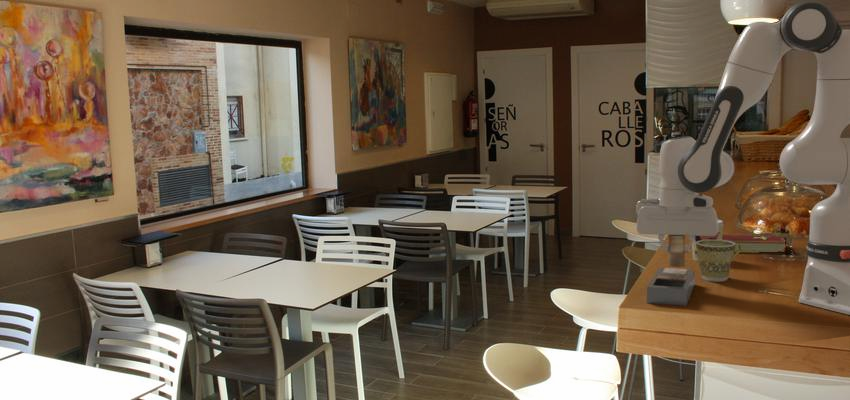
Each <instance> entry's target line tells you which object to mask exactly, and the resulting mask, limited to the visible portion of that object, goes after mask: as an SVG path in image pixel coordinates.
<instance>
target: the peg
mask: <svg viewBox="0 0 850 400" xmlns="http://www.w3.org/2000/svg"><path fill="white" fill-rule="evenodd" d="M668 244H669V252H668V266H669V267H671V268H672V267H673V268H674V267H675V268H684V267H686V261H685V260H686V258H685V257H686V255H685V254H686V253H685V252H684V250H685V249H684V246H685V245H686V235H668Z"/></svg>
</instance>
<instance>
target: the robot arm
mask: <svg viewBox="0 0 850 400" xmlns="http://www.w3.org/2000/svg"><path fill="white" fill-rule="evenodd" d="M789 51H802V52H803V51H804V52H805V51H808V52H812V53H813V54H814V56H815V57H816V61H817V74H816V88H815V90H816V91H815V97H814V105H813V110H812V111H813V112H812V114H811V117H810V120H809V121H808V123H807V125H806V126H805V128H804V129H803V130H802V132H801V133H800V134H799V135H798V136H796V137H795V138H794V139H793V140H791V141H790V142H788V143H787V144H786V145H785V146H784V148H783V149H782V151H781V153H780V157H779V163H778V164H779V168H780V171H781V173H782V175H783V177H784V178H785V179H786V180H787V181H788V182H791V183H797V184H803V185H808V186H809V185H810V186H811V185H812V186H813V185H815V186H817V185H821V186H822V185H836V188H835V190H834V192H833V193H832V194H831V195H830V196H829V197H827V198H825V199H823V200H821V201H819V202H817V203H816V204H815V205H814V206H813V207H812V209H811V211H810V215H809V235H808V236H809V237H808V238H809V239H808V240H807V243H806V247H805V248H806V255H807V256H808V257H807V262H806V266H805V270H804V274H803V281H802V287H801V289H800V290H801V292H800V294H799V298H798V302H799V303H802V304H805V305H809V306H813V307H816V308H819V309H820V308H821V309H823V310H824V309H825V310H828V311H832V312H837V313H840V314H845V315H849V316H850V137H841V135H842V132H843V131H844V130H845V128H847V126H848V125H850V29H843V28H842V26H841V24H840V23H839V21H838V20H837V18H836V17H835V15H834V12H833V11H832V10H831V8H829V6H828V5H826V4H824V3H823V2H819V1H816V0H806V1H802V2H798V3H797V4H795V5H793V6H792V7H790V8H789V9H788V10H787V12H785V14H784V16H782V18H780V19H779V20H778V21H777V22H768V21H756V22H750V23H749V24H748V25H746V27H744V29H743V30H742V32H741V33H740V35H739V37H738V39H737V41H736V42H735V44H734V46H733V48H732V50H731V52H730V55H729V58H728V60H727V62H726V65H725V68H724V70H723V74H722V77H721V79H720V84H719V86H718V89H717V91H716V95H715V96H714V101H713V104H711V107H710V110H709V112H708V114H707V116H706V119H705V120H704V123H703V125H702V128H701V130H700V133H699V135H698V137H697V139H696V140H695V139H694V138H693V137H692V136H689V135H687V136H686V135H683V136H677V137H673V138H669V139H666V140H664V141H663V143H661V145H660V146H661V147H660V151H659V162H658V173H659V176H660V182H659V187H658V198H651V199H650V198H649V199H647V198H642V199H641V200H639V201H637V202H636V205H635V213H636V215H637V219H636V232H637V233H638V234H639V235H657V236H658V241H659V242H660V244H661V245H662V252H664V253H669V243H666V242H665V240H664V239H665V237H666V236H667V235H668V236H669V235H685V236H688V239H689V240H690V241H689V242H688V244H685V246H684V249H685V250H684V252H685V254H687V253H688V254H689V253H690V254H691V252H692V251H691V250H692V243H693V242H694V240H695V236H715V235H716V234H717V233H718V220H719V219H718V215H717V211H716V209H715V208H714V207H713V205H714V199H713V198H712V196H709V195H708V196H707V195H705V194H702V193H706V192H708V191H710V190H713V189H714V188H718V187H720V186H723V185H724V184H726V183H729V181H731V179H732V178H733V177H734V174H735V169H736V167H735V161H734V160H733V157H732V156H731V155H730V154H729V153H727V152H726V151H724V148H725V146H726V143H727V142H728V139H729V137H730V135H731V132H732V129H733V127H734V125H735V124H736V122H737V120H738V119H739V118H740V117H741V116H742V115H743V113H745V112H747V110H749V109H751V107H753V106H755V105H756V104H757V103H759V102H761V100H762V98H763V97H764V95H766V92H767V90H768V89H769V87H770V85H771V82H772V81H773V78H774V75H775V73H776V70H777V68H778V66H779V63H780V61H781V59H782V57H783V56H784V55H785V54H786V53H787V52H789Z"/></svg>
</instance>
